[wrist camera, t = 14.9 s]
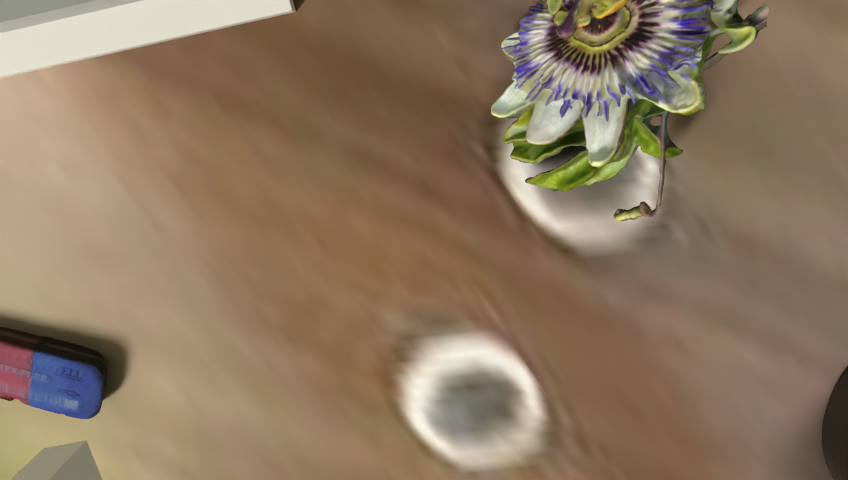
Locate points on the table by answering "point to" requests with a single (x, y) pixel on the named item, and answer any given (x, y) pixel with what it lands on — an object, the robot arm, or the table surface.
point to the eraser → (51, 374)
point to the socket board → (111, 26)
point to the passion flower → (611, 81)
